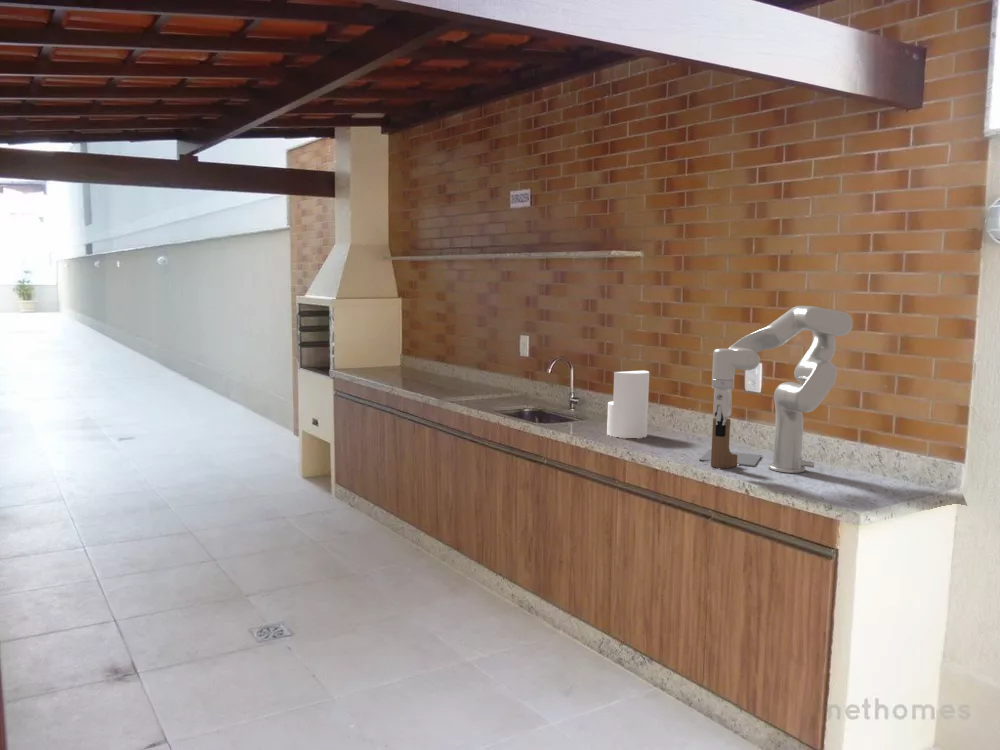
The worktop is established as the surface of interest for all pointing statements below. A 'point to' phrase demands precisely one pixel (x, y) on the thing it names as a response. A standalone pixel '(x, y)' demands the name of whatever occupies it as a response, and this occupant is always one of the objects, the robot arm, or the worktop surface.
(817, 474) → the worktop surface
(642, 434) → the stepped white pillar
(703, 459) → the mat
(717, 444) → the wooden block
